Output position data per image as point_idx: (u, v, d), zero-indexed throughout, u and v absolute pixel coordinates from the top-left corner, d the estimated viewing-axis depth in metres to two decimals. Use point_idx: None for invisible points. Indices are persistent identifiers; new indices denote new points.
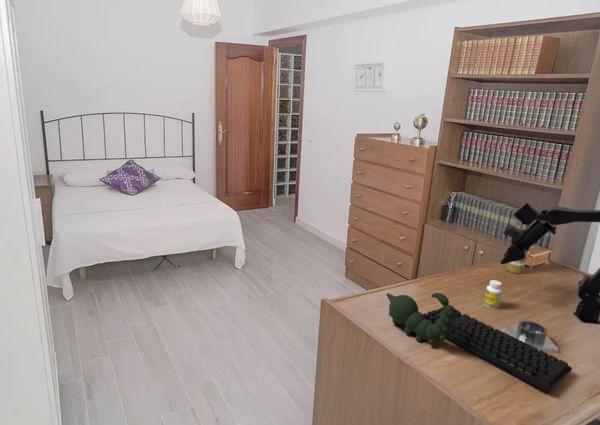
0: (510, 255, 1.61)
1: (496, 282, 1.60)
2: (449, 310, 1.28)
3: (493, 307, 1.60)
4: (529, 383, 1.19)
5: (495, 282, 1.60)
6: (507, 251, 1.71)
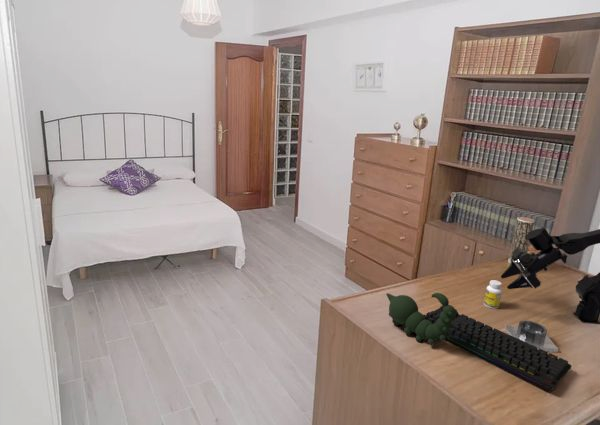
0: (521, 281, 1.52)
1: (496, 282, 1.60)
2: (449, 310, 1.28)
3: (493, 307, 1.60)
4: (532, 383, 1.19)
5: (495, 282, 1.60)
6: (505, 272, 1.63)
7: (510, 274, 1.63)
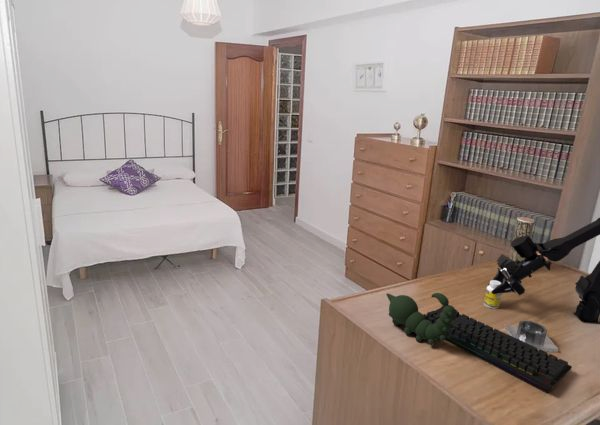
0: (504, 286, 1.55)
1: (496, 282, 1.60)
2: (449, 310, 1.28)
3: (493, 307, 1.60)
4: (531, 383, 1.19)
5: (495, 282, 1.60)
6: None
7: None
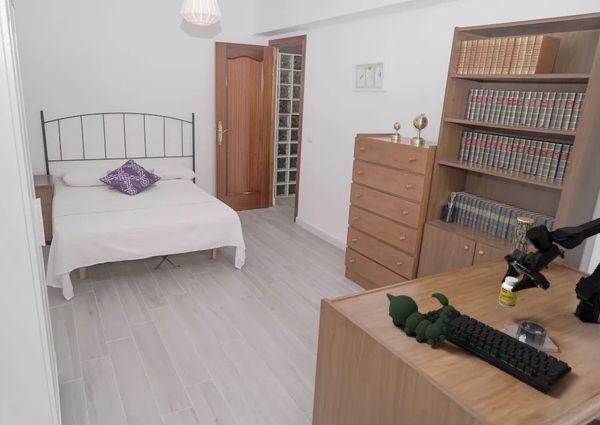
0: (525, 282, 1.44)
1: (512, 279, 1.47)
2: (449, 310, 1.28)
3: (512, 306, 1.48)
4: (529, 383, 1.19)
5: (511, 279, 1.47)
6: None
7: None
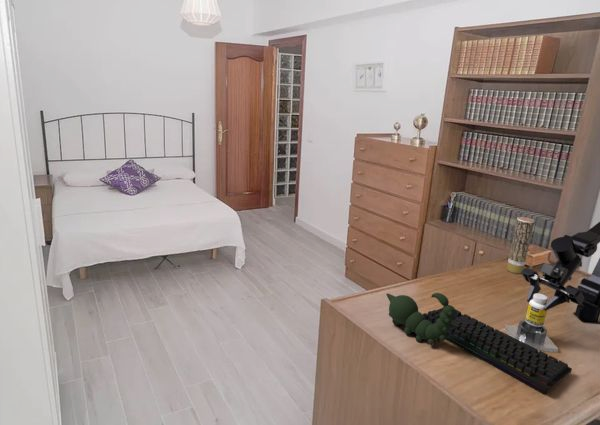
0: None
1: (541, 296, 1.37)
2: (449, 310, 1.28)
3: (542, 325, 1.38)
4: (528, 383, 1.19)
5: (540, 296, 1.37)
6: (531, 295, 1.39)
7: None
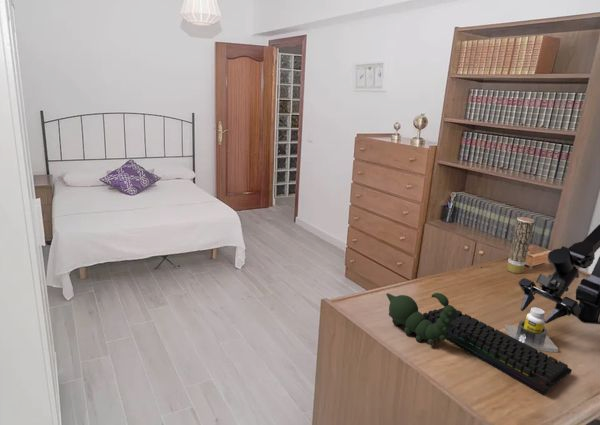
0: None
1: (538, 310, 1.38)
2: (449, 310, 1.28)
3: None
4: (526, 384, 1.19)
5: (538, 310, 1.38)
6: (525, 304, 1.41)
7: (528, 304, 1.42)
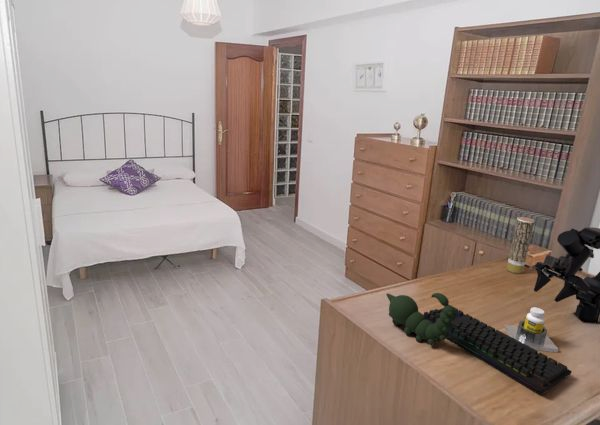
0: (567, 290, 1.40)
1: (538, 310, 1.38)
2: (449, 310, 1.28)
3: None
4: (524, 384, 1.18)
5: (537, 310, 1.38)
6: (538, 285, 1.49)
7: (542, 285, 1.50)
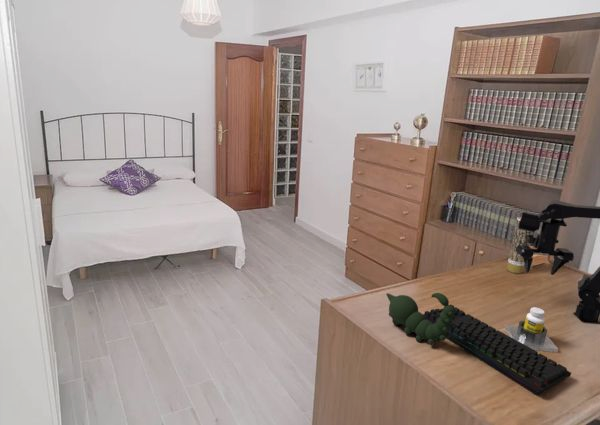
0: (526, 259, 1.61)
1: (538, 310, 1.38)
2: (449, 310, 1.28)
3: None
4: (522, 384, 1.18)
5: (537, 310, 1.38)
6: (552, 268, 1.62)
7: (555, 267, 1.60)
